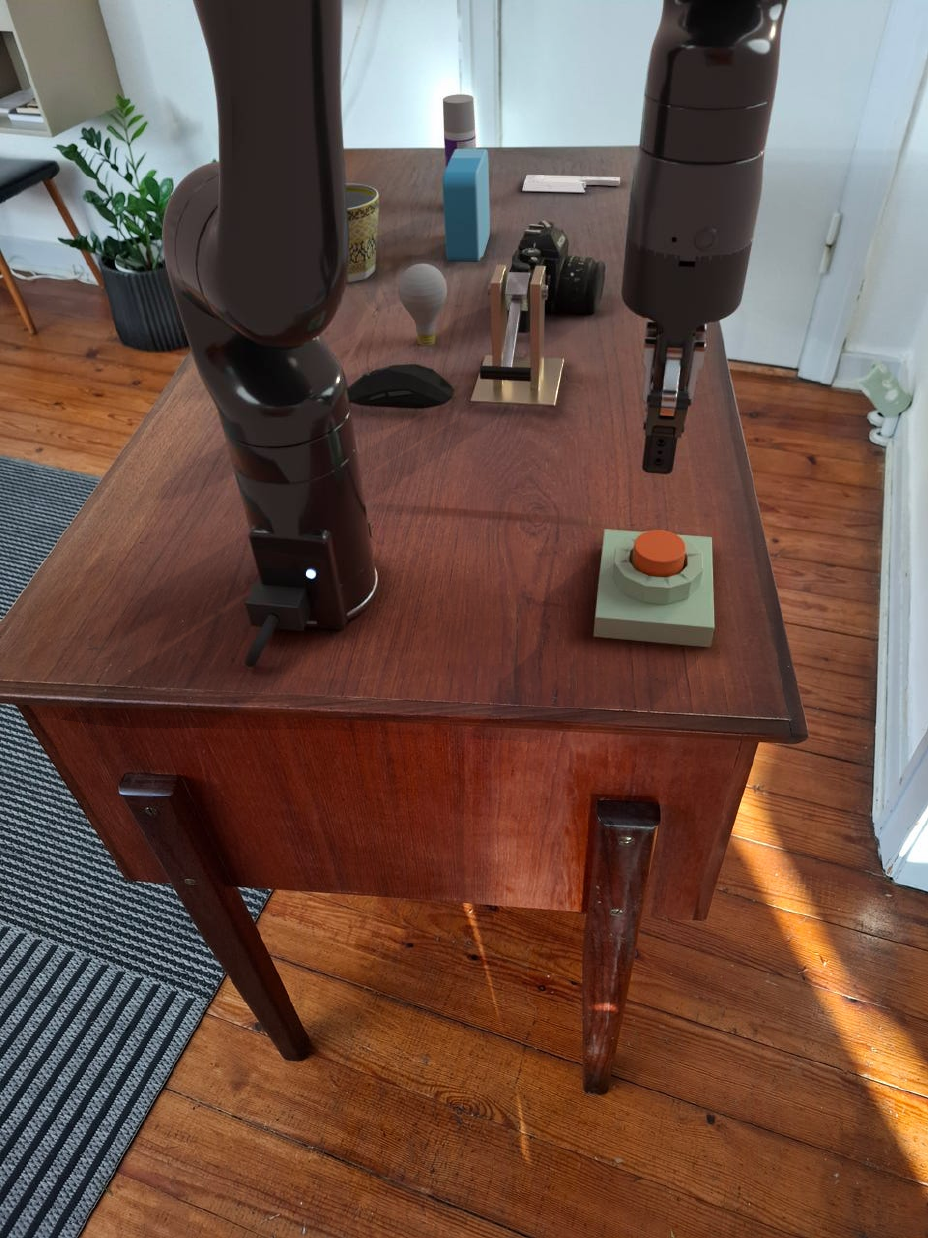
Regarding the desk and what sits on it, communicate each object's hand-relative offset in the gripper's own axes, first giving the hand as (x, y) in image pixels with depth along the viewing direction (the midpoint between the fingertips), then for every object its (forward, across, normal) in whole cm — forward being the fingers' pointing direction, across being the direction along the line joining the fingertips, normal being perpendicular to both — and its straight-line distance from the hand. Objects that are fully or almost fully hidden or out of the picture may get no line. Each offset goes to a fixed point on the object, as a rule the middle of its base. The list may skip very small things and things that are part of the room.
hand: (657, 467), depth 66 cm
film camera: (+12, -50, -14) cm, 53 cm away
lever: (+4, -27, -15) cm, 32 cm away
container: (+12, -85, -33) cm, 92 cm away
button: (+9, 0, +1) cm, 9 cm away
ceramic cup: (+12, -60, -44) cm, 76 cm away
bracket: (+12, -31, -15) cm, 37 cm away
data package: (+12, -68, -28) cm, 74 cm away
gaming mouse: (+12, -27, -29) cm, 41 cm away
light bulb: (+12, -39, -27) cm, 49 cm away
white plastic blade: (+11, -94, -17) cm, 96 cm away
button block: (+12, 0, +1) cm, 12 cm away
